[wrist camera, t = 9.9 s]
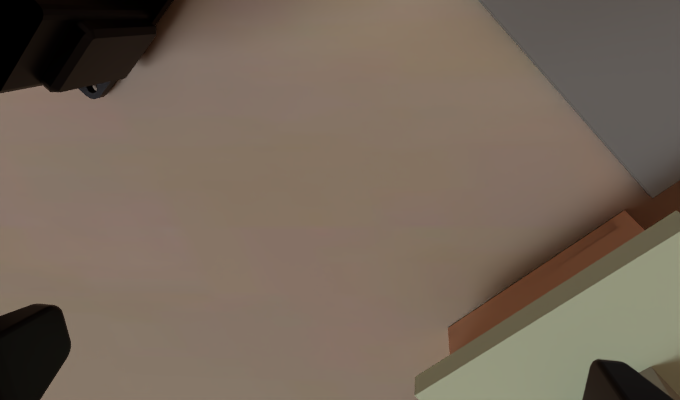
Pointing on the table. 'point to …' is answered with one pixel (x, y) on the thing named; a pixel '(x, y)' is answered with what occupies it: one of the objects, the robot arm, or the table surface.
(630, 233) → the dish
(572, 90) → the mat
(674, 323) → the lid
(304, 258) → the table surface
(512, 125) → the table surface
